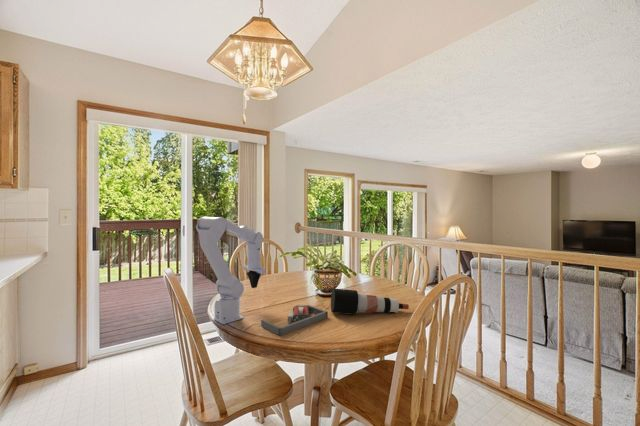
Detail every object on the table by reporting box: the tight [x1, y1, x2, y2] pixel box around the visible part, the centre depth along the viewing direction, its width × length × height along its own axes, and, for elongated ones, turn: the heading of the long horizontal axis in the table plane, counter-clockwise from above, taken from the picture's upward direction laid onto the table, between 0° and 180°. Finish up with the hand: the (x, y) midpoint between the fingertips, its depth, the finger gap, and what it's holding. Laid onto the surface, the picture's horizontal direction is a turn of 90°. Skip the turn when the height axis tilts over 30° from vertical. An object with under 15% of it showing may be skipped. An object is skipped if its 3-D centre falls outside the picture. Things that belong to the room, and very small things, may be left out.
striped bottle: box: [330, 288, 410, 315], centre depth 130 cm, size 10×34×10 cm, turn 95°
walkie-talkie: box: [287, 304, 310, 325], centre depth 123 cm, size 9×4×20 cm
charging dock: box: [260, 304, 328, 337], centre depth 120 cm, size 25×12×2 cm, turn 136°
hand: (254, 287), depth 135 cm, fingers closed
